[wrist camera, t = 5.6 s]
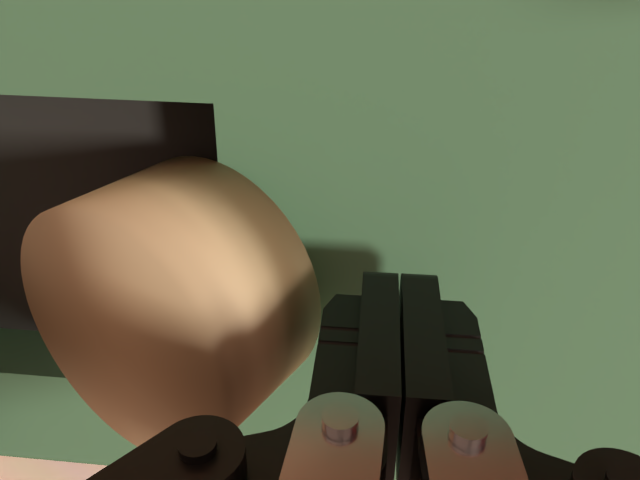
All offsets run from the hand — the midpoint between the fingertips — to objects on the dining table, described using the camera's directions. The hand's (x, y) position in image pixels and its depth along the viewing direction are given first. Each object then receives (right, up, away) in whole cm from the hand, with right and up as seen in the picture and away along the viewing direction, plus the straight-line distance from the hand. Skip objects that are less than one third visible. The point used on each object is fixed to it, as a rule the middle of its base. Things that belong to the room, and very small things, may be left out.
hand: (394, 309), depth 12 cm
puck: (-4, +1, +1) cm, 4 cm away
